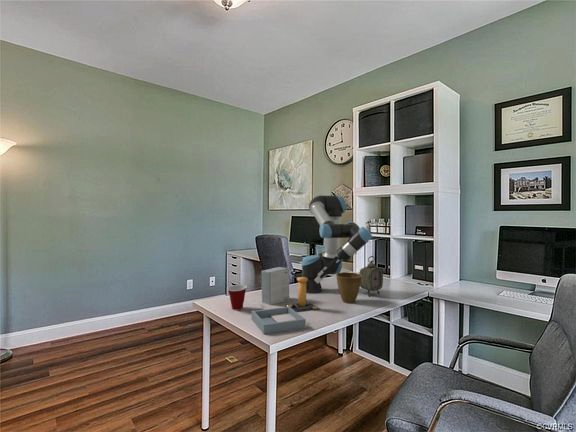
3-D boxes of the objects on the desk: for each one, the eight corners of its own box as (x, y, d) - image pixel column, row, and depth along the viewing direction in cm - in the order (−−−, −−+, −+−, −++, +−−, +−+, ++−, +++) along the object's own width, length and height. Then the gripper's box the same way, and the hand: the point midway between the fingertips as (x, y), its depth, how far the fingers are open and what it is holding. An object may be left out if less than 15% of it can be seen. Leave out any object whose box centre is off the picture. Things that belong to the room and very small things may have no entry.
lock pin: (304, 305, 169) (304, 276, 168) (309, 308, 163) (309, 278, 163) (295, 306, 166) (295, 277, 166) (299, 309, 161) (299, 279, 161)
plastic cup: (223, 307, 168) (223, 286, 168) (240, 304, 175) (240, 283, 175) (233, 313, 160) (233, 290, 160) (250, 309, 167) (250, 287, 167)
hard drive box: (280, 299, 185) (281, 266, 185) (289, 302, 180) (290, 268, 180) (261, 304, 174) (261, 270, 174) (269, 307, 169) (270, 272, 169)
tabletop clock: (370, 298, 189) (370, 257, 189) (358, 295, 196) (358, 256, 196) (382, 294, 199) (383, 255, 199) (370, 291, 206) (371, 254, 205)
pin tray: (288, 314, 159) (288, 306, 159) (305, 327, 140) (305, 319, 140) (251, 319, 151) (251, 311, 151) (263, 334, 133) (263, 325, 133)
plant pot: (331, 299, 186) (331, 273, 186) (352, 296, 192) (352, 271, 191) (344, 306, 172) (345, 278, 172) (366, 303, 178) (366, 276, 178)
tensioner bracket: (310, 305, 173) (310, 300, 173) (320, 312, 162) (320, 306, 162) (284, 308, 167) (284, 303, 167) (292, 315, 156) (292, 310, 156)
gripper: (351, 260, 146) (319, 289, 149) (351, 253, 170) (324, 279, 174) (340, 249, 147) (309, 278, 151) (342, 243, 171) (315, 269, 175)
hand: (317, 278), depth 162 cm, fingers open, 13 cm apart
